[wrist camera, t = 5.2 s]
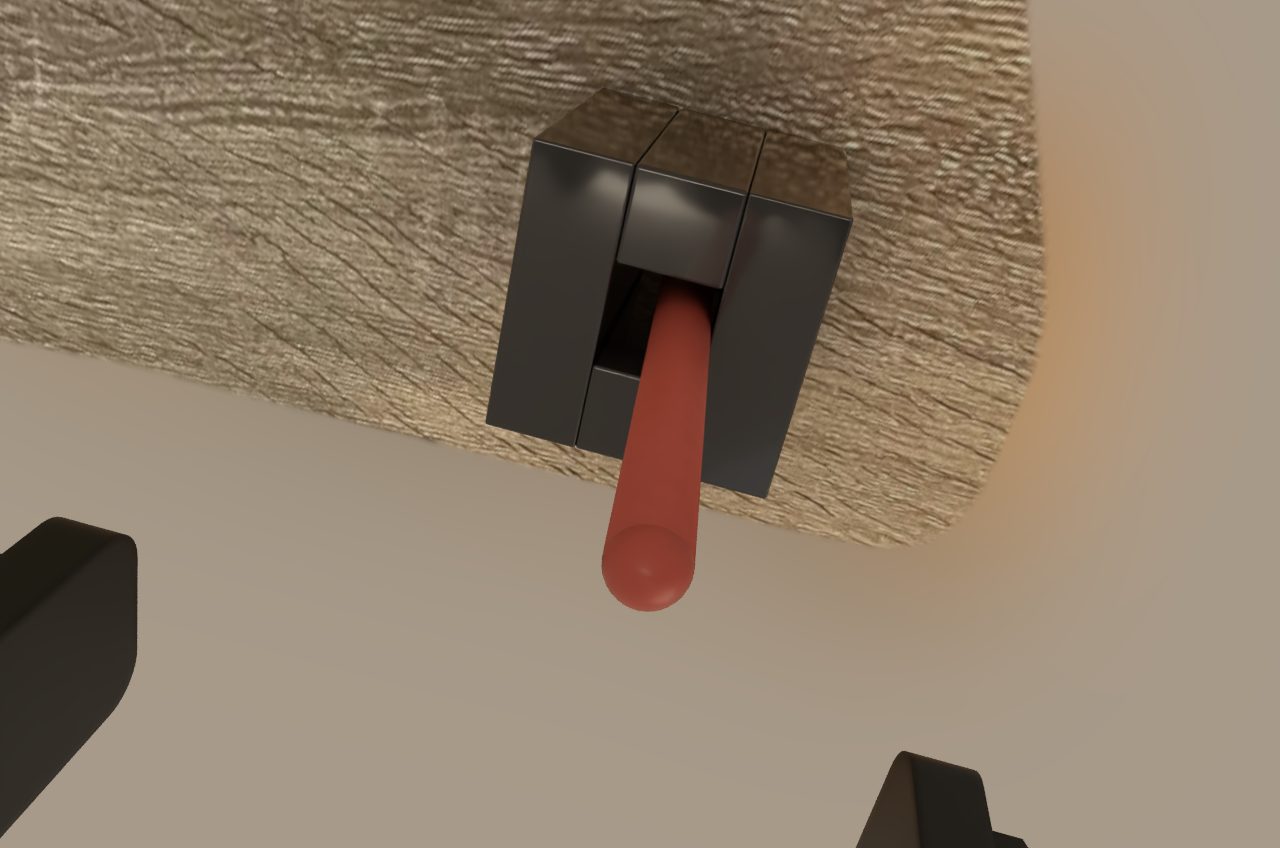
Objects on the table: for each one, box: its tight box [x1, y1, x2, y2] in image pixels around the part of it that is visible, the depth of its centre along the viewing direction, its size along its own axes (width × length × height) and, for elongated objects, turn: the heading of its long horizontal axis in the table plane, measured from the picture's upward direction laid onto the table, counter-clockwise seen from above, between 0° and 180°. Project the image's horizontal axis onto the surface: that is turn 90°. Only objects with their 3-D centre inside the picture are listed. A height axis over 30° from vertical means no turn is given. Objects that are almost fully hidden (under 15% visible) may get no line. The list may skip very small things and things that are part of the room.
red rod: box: [602, 275, 714, 611], centre depth 20 cm, size 1×1×16 cm
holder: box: [486, 88, 853, 499], centre depth 24 cm, size 6×6×7 cm
